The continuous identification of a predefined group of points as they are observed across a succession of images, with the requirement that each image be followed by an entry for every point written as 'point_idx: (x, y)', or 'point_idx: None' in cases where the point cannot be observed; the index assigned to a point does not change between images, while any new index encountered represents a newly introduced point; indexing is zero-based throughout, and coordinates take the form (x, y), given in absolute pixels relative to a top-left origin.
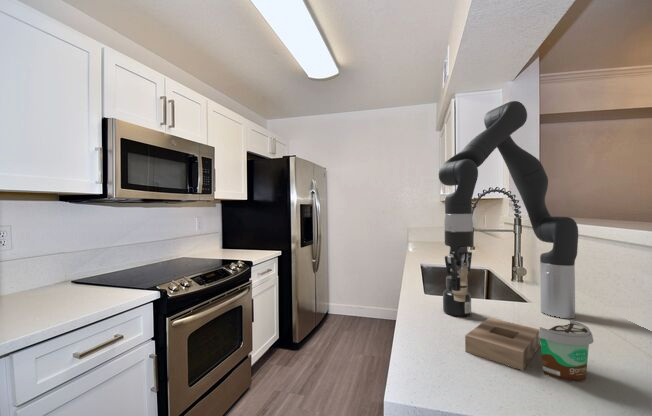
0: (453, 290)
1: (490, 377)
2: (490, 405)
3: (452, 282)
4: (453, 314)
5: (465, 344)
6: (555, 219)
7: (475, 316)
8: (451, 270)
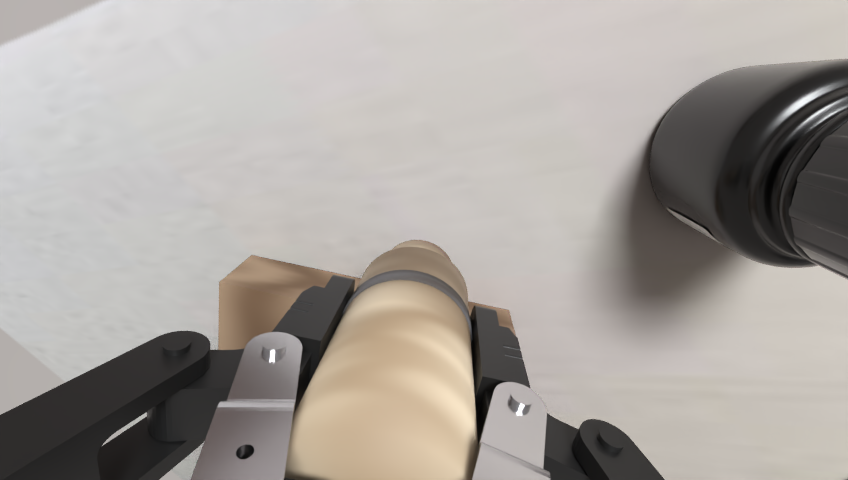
0: (365, 274)
1: (145, 327)
2: (24, 332)
3: (285, 317)
4: (652, 147)
5: (238, 266)
6: None
7: (697, 244)
8: (232, 396)
